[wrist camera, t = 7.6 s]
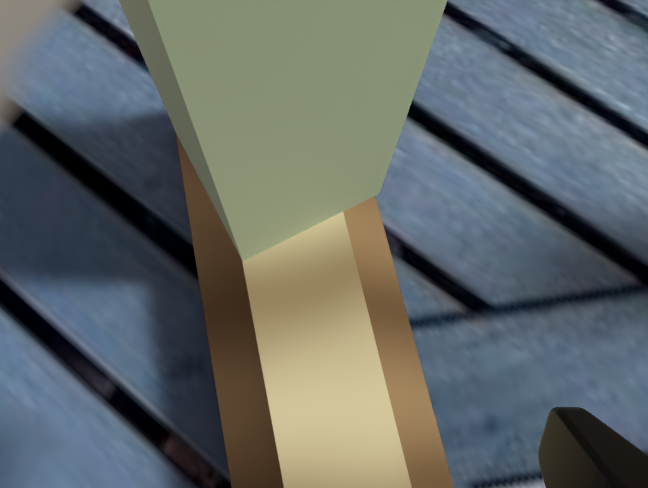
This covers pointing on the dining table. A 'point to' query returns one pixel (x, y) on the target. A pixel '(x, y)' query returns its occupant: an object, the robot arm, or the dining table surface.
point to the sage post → (285, 100)
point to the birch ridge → (314, 356)
